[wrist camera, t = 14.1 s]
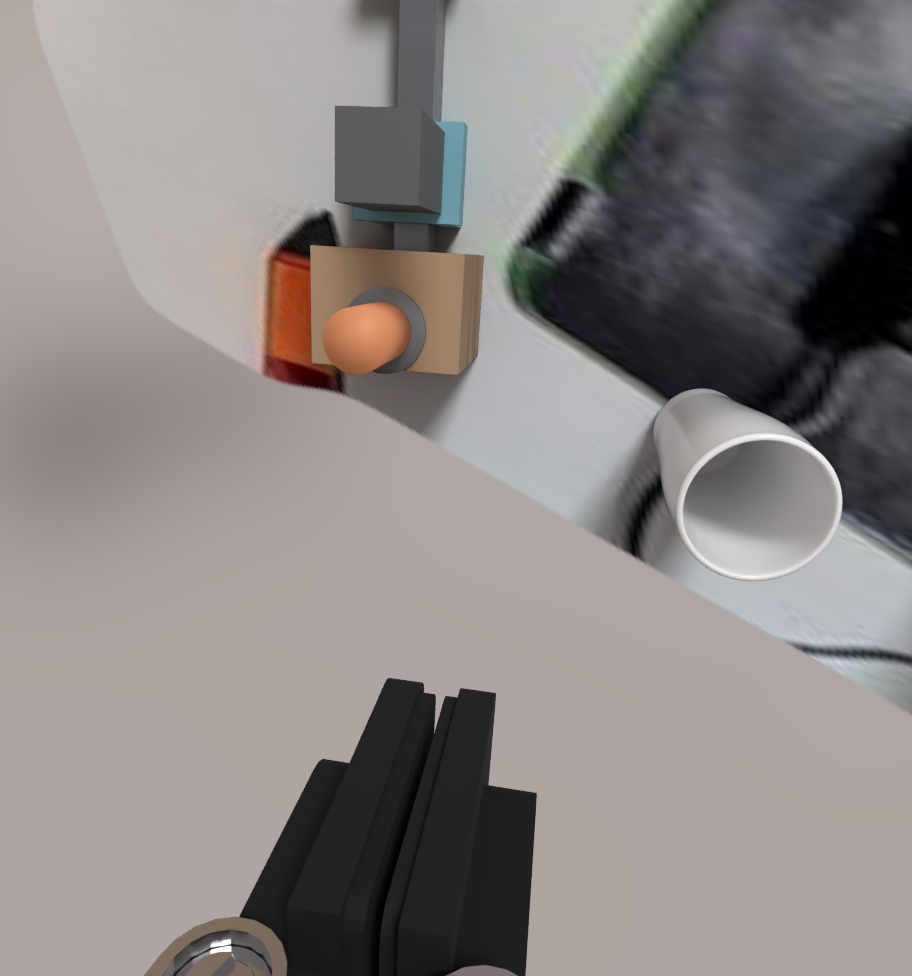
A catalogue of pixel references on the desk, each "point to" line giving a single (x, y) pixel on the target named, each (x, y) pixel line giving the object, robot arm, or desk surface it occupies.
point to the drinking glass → (743, 487)
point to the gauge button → (366, 336)
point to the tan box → (404, 301)
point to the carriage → (399, 165)
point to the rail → (420, 89)
